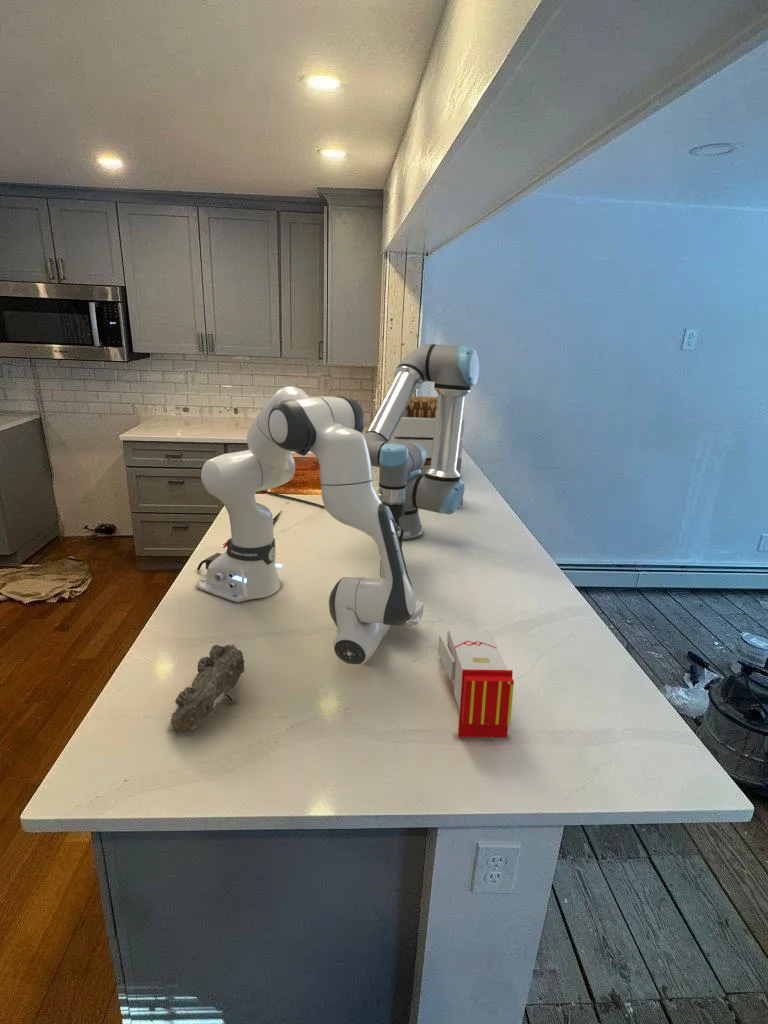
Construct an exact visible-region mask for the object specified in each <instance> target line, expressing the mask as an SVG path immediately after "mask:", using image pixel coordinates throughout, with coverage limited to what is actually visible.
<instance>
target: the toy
mask: <svg viewBox="0 0 768 1024" xmlns="http://www.w3.org/2000/svg"><path fill="white" fill-rule="evenodd" d="M446 640H447V643H446V641H445V639H444V636H443V635H442V634H439V637H438V646H437V656H438V657H439V659H440V661H441V663H442V666H443V668H444V670H445V672H446V674H447V677H448V679H449V681H450V684H451V687H452V690H453V693H454V697H455V701H456V705H457V708H458V711H459V714H458V715H459V716H458V730H457V731H458V732H457V737H458V738H508V731H509V726H510V725H511V717H512V707H513V697H514V696H513V695H514V684H515V680H514V679H513V673H514V671H513V670H512V669H508V667H507V665H506V662H505V661H504V659H503V658H502V655H501V653H500V651H499V649H498V647H497V643H496V639H495V637H494V635H493V634H491V632H490V631H489V629H467V628H466V629H465V628H463V629H461V628H460V629H459V628H448V630H447V639H446Z"/></svg>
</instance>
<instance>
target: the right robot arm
mask: <svg viewBox="0 0 768 1024" xmlns="http://www.w3.org/2000/svg"><path fill="white" fill-rule="evenodd" d="M393 376H394V378H393V381H392V382H391V385H390V386H389V388H388V390H387V392H386V394H385V396H384V398H383V399H382V401H381V403H380V405H379V407H378V409H377V411H376V412H375V415H374V416H373V418H372V420H371V422H370V424H369V426H368V428H367V430H366V432H365V433H364V434H363V436H364V438H365V440H366V443H367V447H368V451H369V455H370V460H371V466H372V467H377V468H379V471H378V472H379V473H378V489H377V490H376V494H377V496H378V497H379V499H380V501H381V502H382V503H383V504H385V505H386V506H388V507H389V508H390V510H391V512H392V515H393V518H394V521H395V524H396V528H397V531H398V532H399V540H400V544H401V548H402V549H403V541H410V540H415V539H418V538H420V537H421V536H422V535H423V525H422V524H421V518H420V515H419V510H423V511H427V512H434V513H437V514H439V515H442V514H444V515H453V514H454V513H456V512H457V510H458V509H459V508H460V506H461V505H460V503H461V501H462V498H463V499H464V494H465V489H466V487H465V482H464V481H462V480H461V474H459V473H458V471H457V470H456V466H457V458H458V450H459V441H460V439H461V438H460V433H461V424H462V419H463V414H464V408H465V407H464V406H465V397H466V396H467V395H468V394H469V393H471V389H472V387H474V386H476V385H477V384H478V379H479V376H480V361H479V357H478V353H477V351H476V350H475V349H474V348H473V347H470V346H463V345H451V344H450V345H449V344H436V343H435V344H434V343H427V344H422V345H421V346H418V347H416V348H414V349H413V350H412V351H410V352H409V353H408V354H406V355H405V356H404V358H402V359H401V361H400V362H399V364H398V365H397V367H396V369H395V370H394V372H393ZM425 382H432V383H433V384H434V385H433V389H434V390H435V391H436V393H437V397H438V400H437V409H436V419H435V428H434V437H433V447H432V456H431V465H430V466H429V468H427V469H426V470H425V471H424V474H422V470H421V468H422V467H424V466H423V465H424V463H425V461H426V452H425V450H424V448H423V447H422V446H421V445H419V444H416V443H413V444H408V445H401V444H394V443H389V441H390V439H391V437H392V435H393V433H394V431H395V429H396V427H397V425H398V423H399V421H400V419H401V417H402V415H403V413H404V411H405V410H406V408H407V406H408V404H409V402H410V400H411V398H412V396H414V394H415V392H416V390H418V389H420V388H421V387H422V385H423V384H424V383H425ZM258 492H261V493H264V494H267V495H272V496H275V497H276V496H277V497H280V498H284V499H289V500H291V501H297V502H301V503H305V504H309V505H313V506H316V507H319V508H322V509H325V506H324V504H320V503H315V502H312V501H310V500H309V501H308V500H305V499H301V498H297V497H293V496H288V495H284V494H280V493H276V492H271V491H267V490H262V491H258ZM458 507H459V508H458ZM380 572H381V562H380V563H379V573H380Z"/></svg>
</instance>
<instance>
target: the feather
mask: <svg viewBox="0 0 768 1024" xmlns="http://www.w3.org/2000/svg"><path fill="white" fill-rule="evenodd" d="M281 512H282V510H280V512H279V513H277V514H276V516H275V517H273V526H274V525H275V523H276V521H277V520H278V518H279V516H280V514H281Z"/></svg>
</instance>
